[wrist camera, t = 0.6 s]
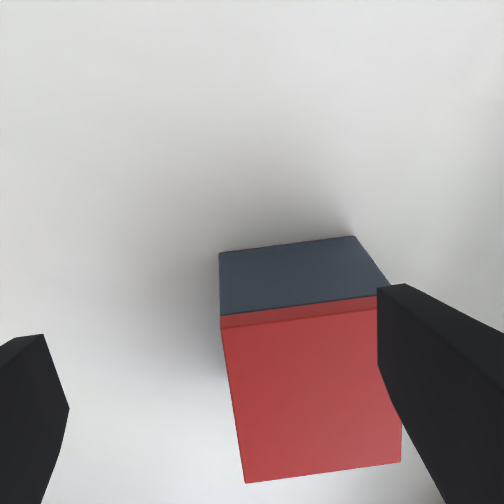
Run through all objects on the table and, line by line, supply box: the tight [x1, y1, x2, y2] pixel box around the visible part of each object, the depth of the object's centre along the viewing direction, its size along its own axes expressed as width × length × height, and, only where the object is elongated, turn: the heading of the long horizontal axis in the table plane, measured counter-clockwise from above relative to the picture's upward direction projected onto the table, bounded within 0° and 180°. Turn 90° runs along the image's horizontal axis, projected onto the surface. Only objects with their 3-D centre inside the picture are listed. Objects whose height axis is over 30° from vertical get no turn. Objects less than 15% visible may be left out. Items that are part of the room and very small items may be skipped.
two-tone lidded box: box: [219, 236, 402, 484], centre depth 19 cm, size 7×6×6 cm
